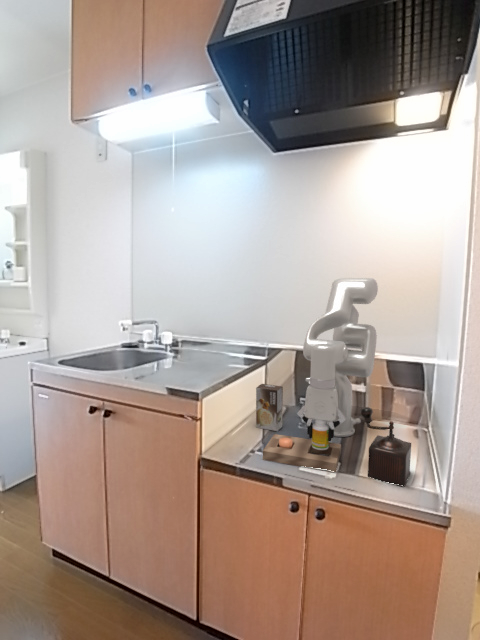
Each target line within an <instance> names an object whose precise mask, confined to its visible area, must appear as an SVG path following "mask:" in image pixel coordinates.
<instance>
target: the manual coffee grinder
mask: <svg viewBox="0 0 480 640" xmlns="http://www.w3.org/2000/svg"><path fill="white" fill-rule="evenodd" d="M373 413H374V411H373V408H371V407H369V406H365V407H362V408H361V409H360V416H361V417H362V418H363V423H364V424H365V423H366V427H367V428H368V429H372V430H380V431H386V430H389V432H388V433H389V434H388V436H383V435H379V434H377V435H376V437H375V438H374V439H373V441H372V442H371V443H370V445H369V447H368V461H367V463H368V465H367V467H368V469H367V477H368V478H370V477H371V479H372V478H374V479H373V480H376V479H378V480H377V481H379V480H381V481H380V482H383V481H385V482H384V483H386V482H389V483H388V484H390V483H394V484H399V485H403V486H404V485H405V486H406V484H407V483H408V480H409V478H408V477H410V475H411V456H412V442H409V441H405V440H402V439H400V438H397V437H395V434H394V433H393V431H394V429H395V426H394V425H395V424H394V422H393V421H392V420H390V421H389V422H388V424H389V425H388V426H377V425H376V426H375V425H371V423H372V422H373V421H374V420H373V418H372V415H373ZM407 479H408V480H407ZM394 484H393V485H394ZM405 486H404V487H405Z"/></svg>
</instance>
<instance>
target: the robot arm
mask: <svg viewBox="0 0 480 640" xmlns="http://www.w3.org/2000/svg"><path fill="white" fill-rule="evenodd" d="M378 286H379V285H378V283H377V280H375V279H374V278H370V277H368V278H367V277H365V278H364V277H343V278H342V277H340V278H337V279H334V280H333V282H332V283H331V289H330V292H329V296H328V301H327V305H326V308H325V313H324V314H322V315H321V316H319V317H318V318H316V320H315V321H313V323H311V325H310V326H309V327H308V329H307V331H306V335H305V338H304V342H303V347H302V348H303V349H302V353H303V357H304V359H306V360H307V361H310V376H309V377H306V378H305V383H308V384H309V385H308V386H307V388H306V391H305V400H304V405H303V406H302V407H301V408H300V409H299V410H298V411H297V415H298V417H300V418H301V419H302V420H303V421H304V423H305V424H306V426H307V429H306V430H307V432H306V433H307V434H306V435H308V439H311V440H312V425H313V423H314V422H313V420H314V421H315V420H323V421H327V424H328V425H329V437H328V441H329V442H330V443H332V440H333V439H334V437H337V438H338V437H339V438H344V437H345V438H347V437H350V436H353V435H354V434H355V431H356V428H355V427H354V426H355V425H358V424H360V423H362V421H361V418H360V417H357V418H354V417H352V402H353V401H352V400H353V385H352V383H351V381H350V379H349V377H348V376H352V377H359V378H368V377H371V375H372V374H373V371H374V367H375V365H374V364H375V357H376V347H377V336H378V335H377V330H376V328H375V327H374V326H373V325H372V324H366V323H364V324H363V323H359V317H360V314H359V313H360V312H359V311H358V309H357V308H356V307H355V305H370V304H371V303H372V302H373V301H375V299H376V297H377V295H378V292H379V291H378V290H379V287H378ZM330 330H333V333H332V334H333V335H332V340H330V339H321V338H319V339H318V337H319V336H321V334H323V333H325V332H327V331H330Z"/></svg>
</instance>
